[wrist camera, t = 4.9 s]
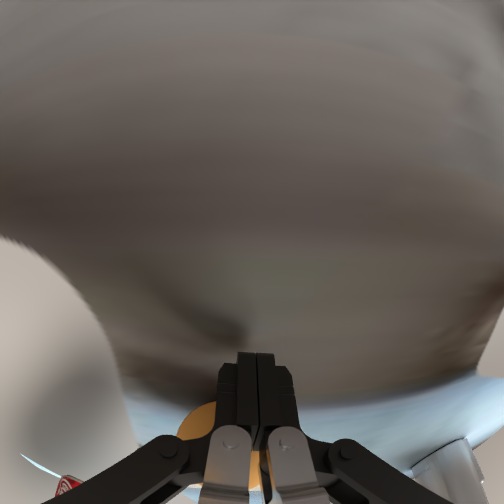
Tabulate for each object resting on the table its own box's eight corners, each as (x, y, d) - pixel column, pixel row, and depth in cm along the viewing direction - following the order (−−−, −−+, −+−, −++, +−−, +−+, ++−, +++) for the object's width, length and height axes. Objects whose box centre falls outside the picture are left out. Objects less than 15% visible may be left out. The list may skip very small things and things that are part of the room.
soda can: (59, 472, 29) (47, 516, 18) (65, 471, 27) (52, 520, 16) (89, 488, 31) (80, 531, 20) (99, 488, 29) (89, 536, 18)
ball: (283, 382, 13) (296, 475, 8) (269, 429, 16) (275, 501, 11) (177, 375, 13) (160, 469, 8) (186, 424, 15) (177, 496, 10)
